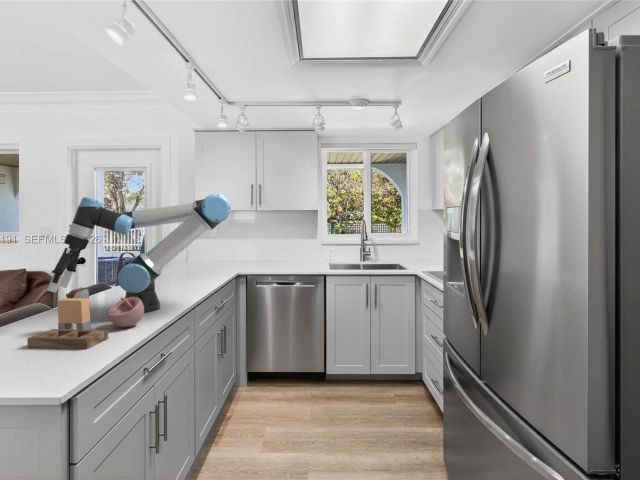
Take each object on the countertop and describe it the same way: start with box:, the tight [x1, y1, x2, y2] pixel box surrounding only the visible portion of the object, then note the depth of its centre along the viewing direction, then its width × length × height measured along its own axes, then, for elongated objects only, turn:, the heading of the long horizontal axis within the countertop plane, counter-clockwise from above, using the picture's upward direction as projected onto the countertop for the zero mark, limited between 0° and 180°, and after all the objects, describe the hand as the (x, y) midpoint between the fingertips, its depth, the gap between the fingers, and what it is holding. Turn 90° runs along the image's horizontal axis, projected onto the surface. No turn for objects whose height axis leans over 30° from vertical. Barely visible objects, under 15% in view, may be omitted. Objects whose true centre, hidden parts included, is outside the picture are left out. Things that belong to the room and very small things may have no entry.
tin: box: [66, 287, 90, 299], centre depth 178 cm, size 15×3×8 cm, turn 5°
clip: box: [57, 297, 92, 330], centre depth 138 cm, size 4×10×12 cm, turn 84°
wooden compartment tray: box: [26, 328, 109, 350], centre depth 125 cm, size 10×20×3 cm, turn 84°
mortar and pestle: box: [107, 296, 145, 328], centre depth 143 cm, size 12×12×12 cm
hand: (57, 289), depth 146 cm, fingers open, 13 cm apart
